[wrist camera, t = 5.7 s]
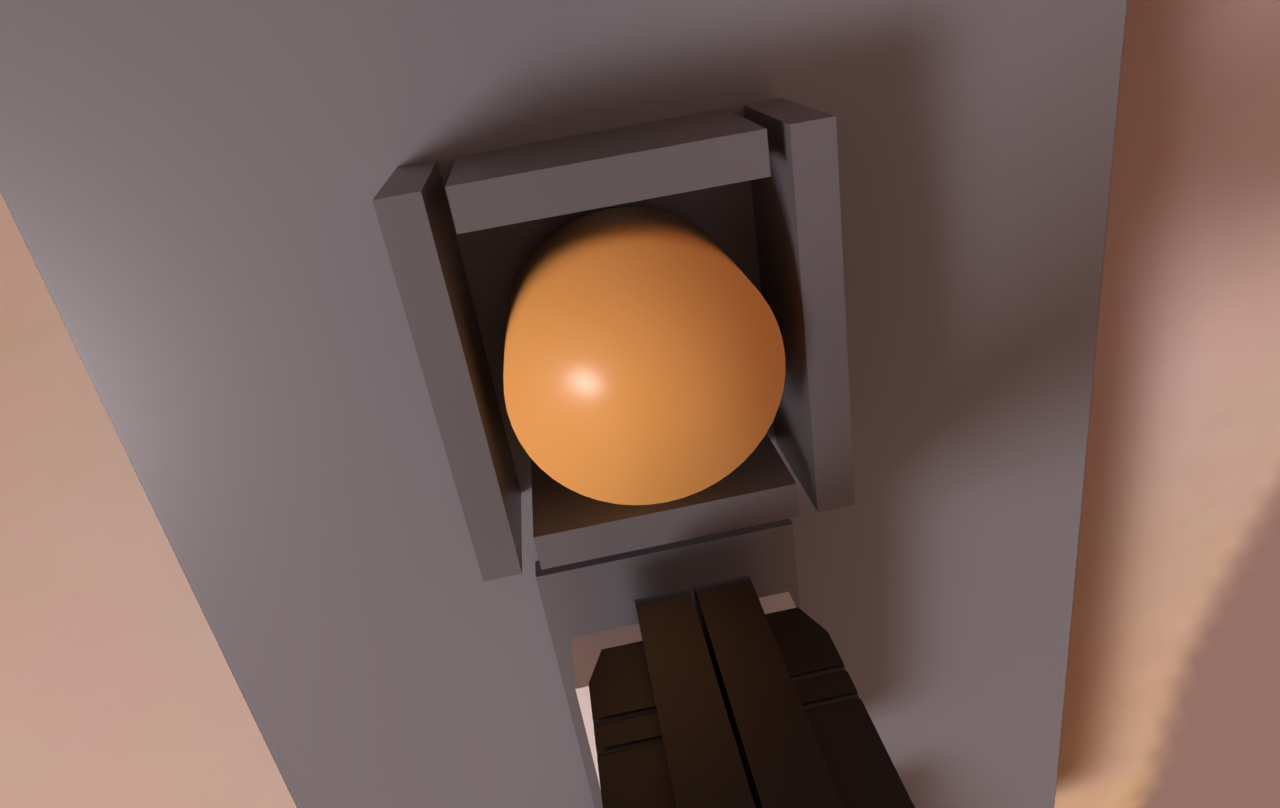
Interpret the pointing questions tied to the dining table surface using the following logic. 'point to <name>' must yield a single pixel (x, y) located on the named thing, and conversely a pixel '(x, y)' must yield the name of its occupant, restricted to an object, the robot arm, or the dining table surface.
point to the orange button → (638, 358)
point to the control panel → (475, 336)
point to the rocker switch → (592, 644)
